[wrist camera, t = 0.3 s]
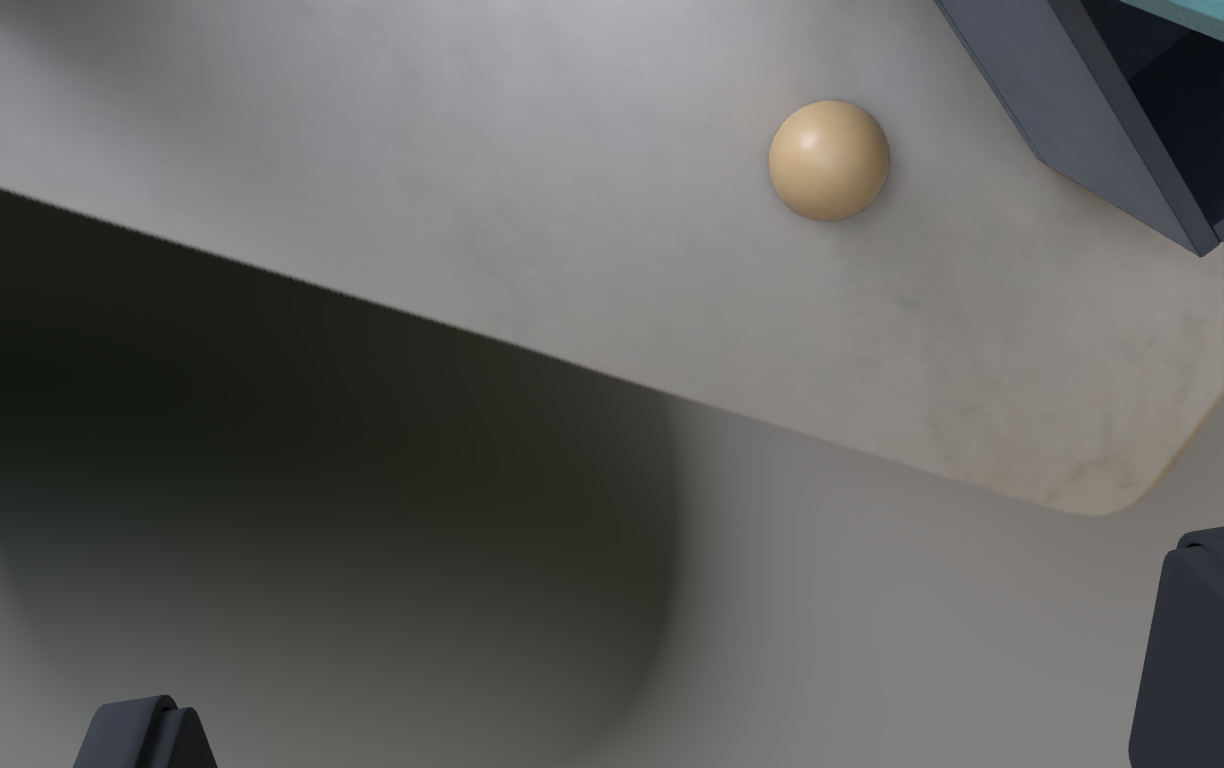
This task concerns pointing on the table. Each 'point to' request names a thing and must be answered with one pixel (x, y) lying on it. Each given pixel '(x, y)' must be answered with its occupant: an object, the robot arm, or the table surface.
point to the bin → (1111, 103)
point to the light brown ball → (829, 160)
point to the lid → (1188, 14)
